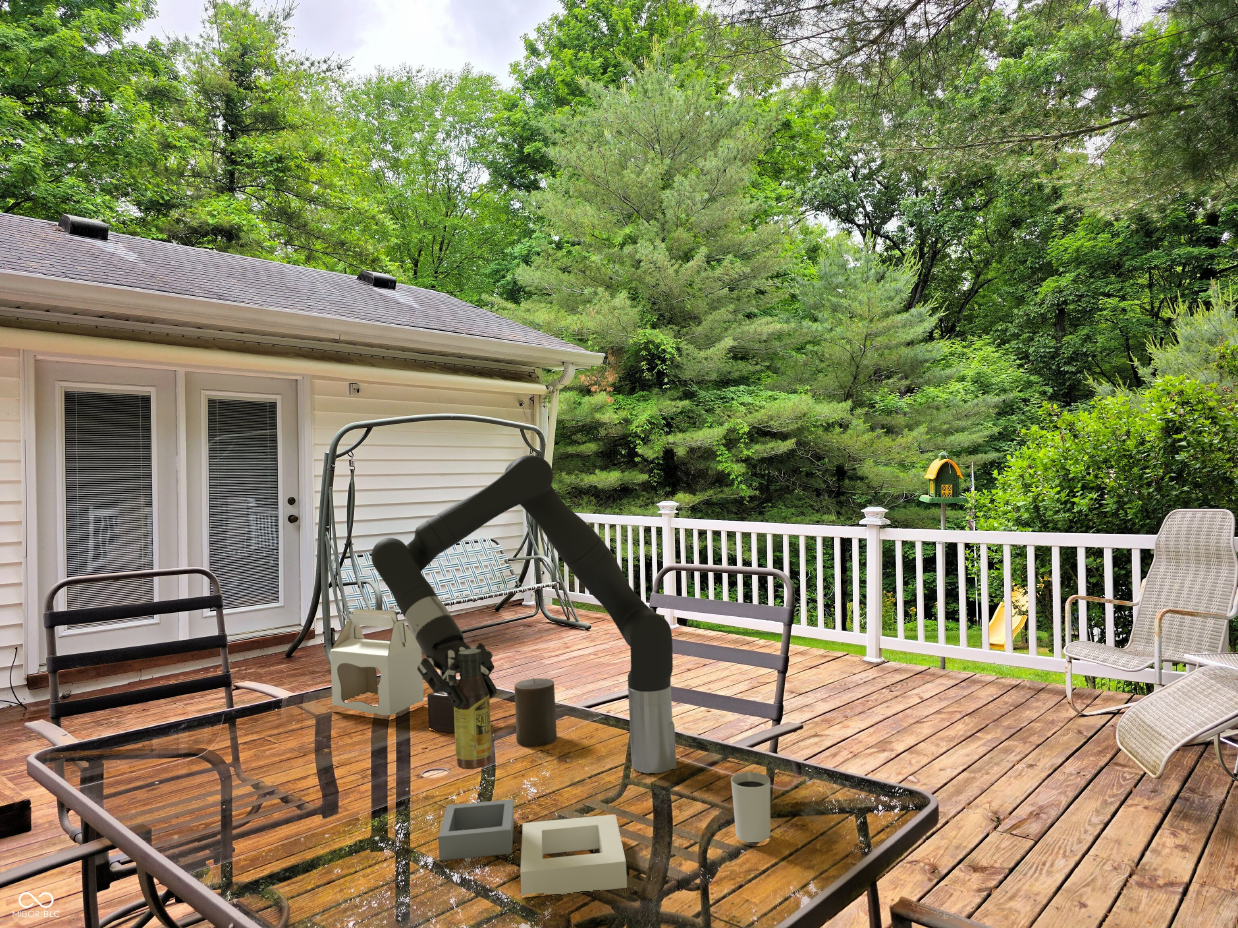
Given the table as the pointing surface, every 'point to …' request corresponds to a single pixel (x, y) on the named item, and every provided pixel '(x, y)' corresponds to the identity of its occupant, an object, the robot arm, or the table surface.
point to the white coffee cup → (751, 806)
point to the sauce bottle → (472, 714)
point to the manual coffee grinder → (442, 710)
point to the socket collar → (572, 870)
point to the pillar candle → (535, 712)
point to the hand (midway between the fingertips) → (478, 700)
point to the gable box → (376, 664)
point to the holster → (477, 830)
